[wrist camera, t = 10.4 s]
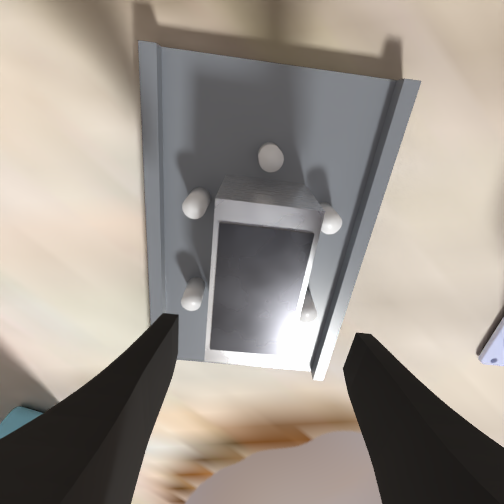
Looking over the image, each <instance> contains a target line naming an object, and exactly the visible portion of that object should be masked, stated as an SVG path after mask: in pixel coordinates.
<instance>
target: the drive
mask: <svg viewBox="0 0 504 504" xmlns="http://www.w3.org/2000/svg"><path fill="white" fill-rule="evenodd" d="M324 215H325V210H324V209H323V208H322V206H321V205H320V204H319V202H318V201H317V200H316V198H315V197H314V195H313V194H312V193H311V191H310V190H309V189H308V187H307V186H306V185H305V184H299V183H291V182H283V181H275V180H267V179H259V178H251V177H243V176H235V175H227V174H226V175H225V177H224V180H223V182H222V184H221V186H220V189H219V191H218V193H217V195H216V198H215V209H214V224H213V239H212V254H211V269H210V284H209V299H208V314H207V328H206V343H205V358H204V361H205V362H216V363H227V364H238V365H249V366H260V367H271V368H282V369H287V366H288V362H289V358H290V354H291V350H292V346H293V342H294V338H295V334H296V330H297V325H298V321H299V317H300V313H301V309H302V305H303V301H304V297H305V293H306V289H307V285H308V280H309V276H310V272H311V268H312V264H313V260H314V256H315V252H316V248H317V244H318V239H319V235H320V231H321V227H322V223H323V219H324Z"/></svg>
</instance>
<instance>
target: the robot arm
mask: <svg viewBox="0 0 504 504" xmlns="http://www.w3.org/2000/svg"><path fill="white" fill-rule="evenodd" d="M178 334H179V315H178V314H169V313H163V314H161V315H160V316H159V317H158V318H157V319H156V320H155V322H154V323H153V324H152V325H151V326H150V327H149V328H148V329H147V330H146V331H145V332H144V333H143V334H142V335H141V336H140V337H139V338H138V339H137V340H136V341H135V342H134V343H133V344H132V345H131V346H130V347H129V348H128V349H127V350H126V351H125V352H124V353H122V354H121V355H120V356H119V357H118V358H117V359H116V360H114V361H113V362H112V363H111V364H110V365H109V366H108V367H106V368H105V369H104V370H103V371H102V372H100V373H99V374H98V375H97V376H95V377H94V378H93V379H92V380H90V381H89V382H88V383H86V384H85V385H84V386H82V387H81V388H80V389H78V390H77V391H75V392H74V393H73V394H71V395H70V396H68V397H67V398H65V399H64V400H63V401H61V402H60V403H58V404H57V405H55V406H54V407H52V408H51V409H49V410H48V411H46V412H45V413H43V414H41V415H40V416H38V417H36V418H35V419H33V420H31V421H30V422H28V423H26V424H25V425H23V426H21V427H20V428H18V429H17V430H15V431H13V432H11V433H10V434H8V435H6V436H4V437H3V438H1V439H0V504H131V501H132V497H133V494H134V490H135V486H136V483H137V479H138V475H139V472H140V468H141V465H142V461H143V458H144V454H145V450H146V447H147V444H148V441H149V438H150V435H151V433H152V430H153V427H154V425H155V422H156V419H157V417H158V414H159V411H160V409H161V406H162V403H163V401H164V398H165V395H166V393H167V390H168V387H169V385H170V382H171V379H172V376H173V372H174V368H175V364H176V360H177V356H178ZM478 360H479V361H480V362H481V363H482V364H487V365H498V366H504V317H503V319H502V320H501V322H500V323H499V325H498V327H497V328H496V330H495V331H494V333H493V334H492V336H491V338H490V339H489V341H488V342H487V344H486V345H485V347H484V349H483V350H482V352H481V353H480V355H479V357H478ZM343 371H344V376H345V381H346V386H347V390H348V394H349V397H350V400H351V403H352V406H353V409H354V412H355V415H356V418H357V421H358V424H359V426H360V429H361V432H362V435H363V438H364V440H365V443H366V446H367V449H368V452H369V455H370V458H371V461H372V465H373V468H374V472H375V476H376V480H377V484H378V487H379V492H380V496H381V500H382V504H504V447H502V446H501V445H499V444H498V443H496V442H495V441H494V440H492V439H491V438H489V437H488V436H487V435H485V434H484V433H482V432H481V431H480V430H478V429H477V428H476V427H474V426H473V425H472V424H470V423H469V422H468V421H467V420H465V419H464V418H463V417H462V416H460V415H459V414H458V413H456V412H455V411H454V410H453V409H451V408H450V407H449V406H448V405H447V404H445V403H444V402H443V401H442V400H441V399H440V398H438V397H437V396H436V395H435V394H434V393H433V392H432V391H430V390H429V389H428V388H427V387H426V386H425V385H424V384H423V383H421V382H420V381H419V380H418V379H417V378H416V377H415V376H414V375H413V374H412V373H411V372H410V371H409V370H408V369H407V368H405V367H404V366H403V365H402V364H401V363H400V362H399V361H398V360H397V359H396V358H395V357H394V356H393V355H392V354H391V353H390V352H389V351H388V350H387V349H386V348H385V347H384V346H383V345H382V344H381V343H380V342H379V341H378V340H377V339H376V338H375V337H373V336H372V335H371V334H365V333H356V334H355V337H354V340H353V343H352V345H351V348H350V351H349V354H348V356H347V359H346V362H345V365H344V367H343Z"/></svg>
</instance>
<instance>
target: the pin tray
mask: <svg viewBox="0 0 504 504" xmlns="http://www.w3.org/2000/svg"><path fill="white" fill-rule="evenodd" d="M138 51H139V73H140V95H141V118H142V140H143V163H144V185H145V207H146V230H147V252H148V274H149V297H150V319H151V325H152V324H153V323H154V322H155V320H156V319H157V318H158V317H159V316H160V315H161V314H163V313H169V314H178V315H179V334H178V356H177V360H188V361H199V362H205V361H204V358H205V343H206V328H207V314H208V299H209V284H210V269H211V254H212V239H213V224H214V209H215V198H216V195H217V193H218V191H219V189H220V186H221V184H222V182H223V180H224V177H225V175H226V174H227V175H235V176H243V177H251V178H259V179H267V180H275V181H283V182H291V183H299V184H305V185H306V186H307V187H308V189H309V190H310V191H311V193H312V194H313V195H314V197H315V198H316V200H317V201H318V202H319V204H320V205H321V206H322V208H323V209H324V210H325V215H324V219H323V223H322V227H321V231H320V235H319V239H318V244H317V248H316V252H315V256H314V260H313V264H312V268H311V272H310V276H309V280H308V285H307V289H306V293H305V297H304V301H303V305H302V309H301V313H300V317H299V321H298V325H297V330H296V334H295V338H294V342H293V346H292V350H291V354H290V358H289V362H288V366H287V369H289V370H300V371H311V373H312V378H313V380H319V381H323V380H324V377H325V374H326V371H327V368H328V365H329V362H330V359H331V356H332V353H333V350H334V346H335V343H336V340H337V337H338V334H339V331H340V328H341V325H342V322H343V319H344V316H345V313H346V310H347V307H348V304H349V301H350V298H351V295H352V291H353V288H354V285H355V282H356V279H357V276H358V273H359V270H360V267H361V264H362V261H363V258H364V255H365V252H366V249H367V246H368V243H369V240H370V236H371V233H372V230H373V227H374V224H375V221H376V218H377V215H378V212H379V209H380V206H381V203H382V200H383V197H384V194H385V191H386V188H387V185H388V181H389V178H390V175H391V172H392V169H393V166H394V163H395V160H396V157H397V154H398V151H399V148H400V145H401V142H402V139H403V136H404V133H405V130H406V126H407V123H408V120H409V117H410V114H411V111H412V108H413V105H414V102H415V99H416V96H417V93H418V90H419V87H420V84H421V81H418V80H411V79H401V80H391V79H384V78H377V77H370V76H363V75H356V74H349V73H342V72H335V71H328V70H321V69H314V68H307V67H300V66H293V65H286V64H279V63H272V62H265V61H258V60H251V59H244V58H237V57H230V56H223V55H216V54H209V53H202V52H195V51H188V50H181V49H174V48H167V47H161V46H160V45H159V44H157V43H154V42H147V41H140V40H138ZM211 363H216V362H211ZM222 364H227V363H222ZM233 365H238V364H233ZM244 366H249V365H244ZM255 367H260V366H255ZM267 368H271V367H267ZM278 369H282V368H278Z"/></svg>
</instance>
